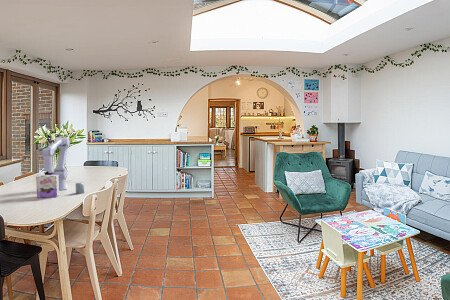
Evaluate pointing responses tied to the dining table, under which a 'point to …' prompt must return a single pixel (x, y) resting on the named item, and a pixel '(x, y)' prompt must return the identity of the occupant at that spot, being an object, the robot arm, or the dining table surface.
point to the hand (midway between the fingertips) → (48, 181)
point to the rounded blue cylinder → (79, 188)
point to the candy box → (47, 186)
